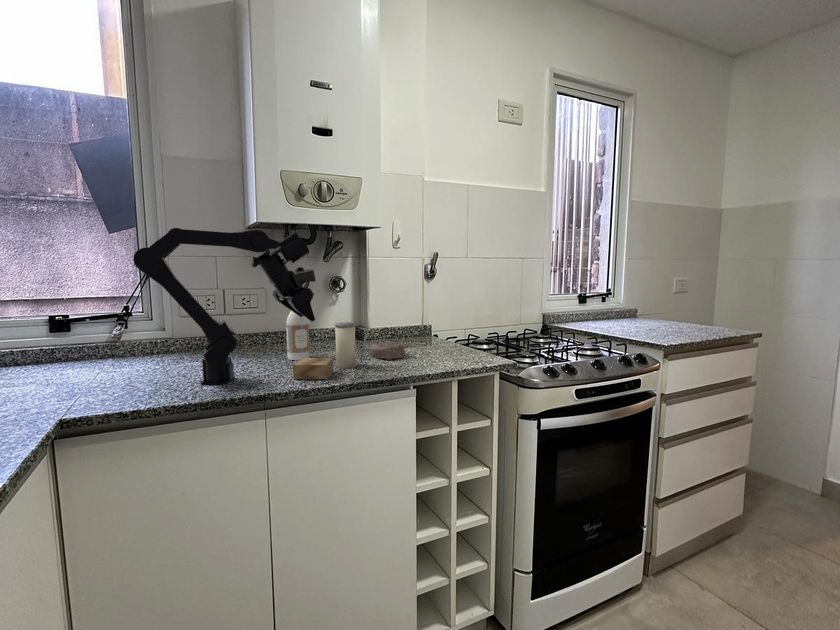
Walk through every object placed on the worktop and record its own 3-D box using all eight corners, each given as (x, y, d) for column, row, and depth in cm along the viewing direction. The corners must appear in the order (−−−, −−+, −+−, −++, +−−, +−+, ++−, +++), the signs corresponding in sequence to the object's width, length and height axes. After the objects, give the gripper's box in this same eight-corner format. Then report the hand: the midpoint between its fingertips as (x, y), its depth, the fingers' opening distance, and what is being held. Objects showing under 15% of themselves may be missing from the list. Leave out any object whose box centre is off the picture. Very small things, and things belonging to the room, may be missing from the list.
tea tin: (334, 368, 130) (333, 325, 128) (337, 363, 136) (336, 322, 134) (354, 368, 130) (353, 325, 128) (357, 363, 136) (356, 322, 134)
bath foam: (291, 362, 138) (289, 298, 135) (284, 358, 143) (282, 297, 141) (312, 359, 141) (310, 297, 139) (305, 355, 147) (303, 296, 145)
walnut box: (293, 379, 117) (293, 365, 117) (302, 371, 126) (301, 357, 126) (327, 379, 117) (326, 365, 117) (333, 371, 126) (333, 357, 126)
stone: (365, 355, 148) (365, 342, 147) (387, 353, 153) (387, 339, 153) (384, 361, 138) (384, 347, 138) (407, 358, 144) (407, 344, 144)
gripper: (313, 258, 115) (343, 306, 121) (291, 256, 130) (318, 299, 137) (278, 281, 110) (310, 330, 117) (259, 276, 126) (288, 320, 132)
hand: (307, 318), depth 126 cm, fingers open, 9 cm apart
